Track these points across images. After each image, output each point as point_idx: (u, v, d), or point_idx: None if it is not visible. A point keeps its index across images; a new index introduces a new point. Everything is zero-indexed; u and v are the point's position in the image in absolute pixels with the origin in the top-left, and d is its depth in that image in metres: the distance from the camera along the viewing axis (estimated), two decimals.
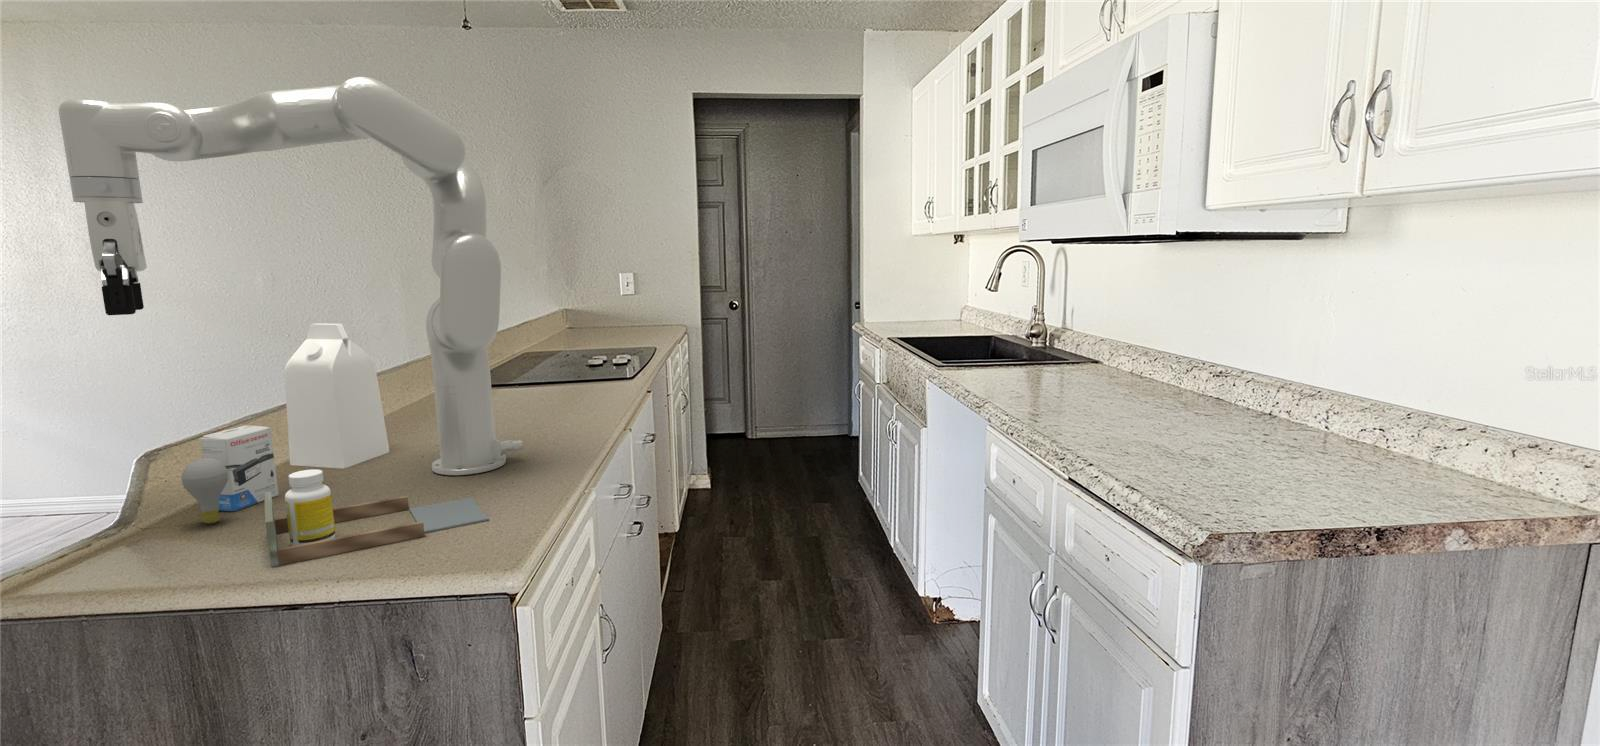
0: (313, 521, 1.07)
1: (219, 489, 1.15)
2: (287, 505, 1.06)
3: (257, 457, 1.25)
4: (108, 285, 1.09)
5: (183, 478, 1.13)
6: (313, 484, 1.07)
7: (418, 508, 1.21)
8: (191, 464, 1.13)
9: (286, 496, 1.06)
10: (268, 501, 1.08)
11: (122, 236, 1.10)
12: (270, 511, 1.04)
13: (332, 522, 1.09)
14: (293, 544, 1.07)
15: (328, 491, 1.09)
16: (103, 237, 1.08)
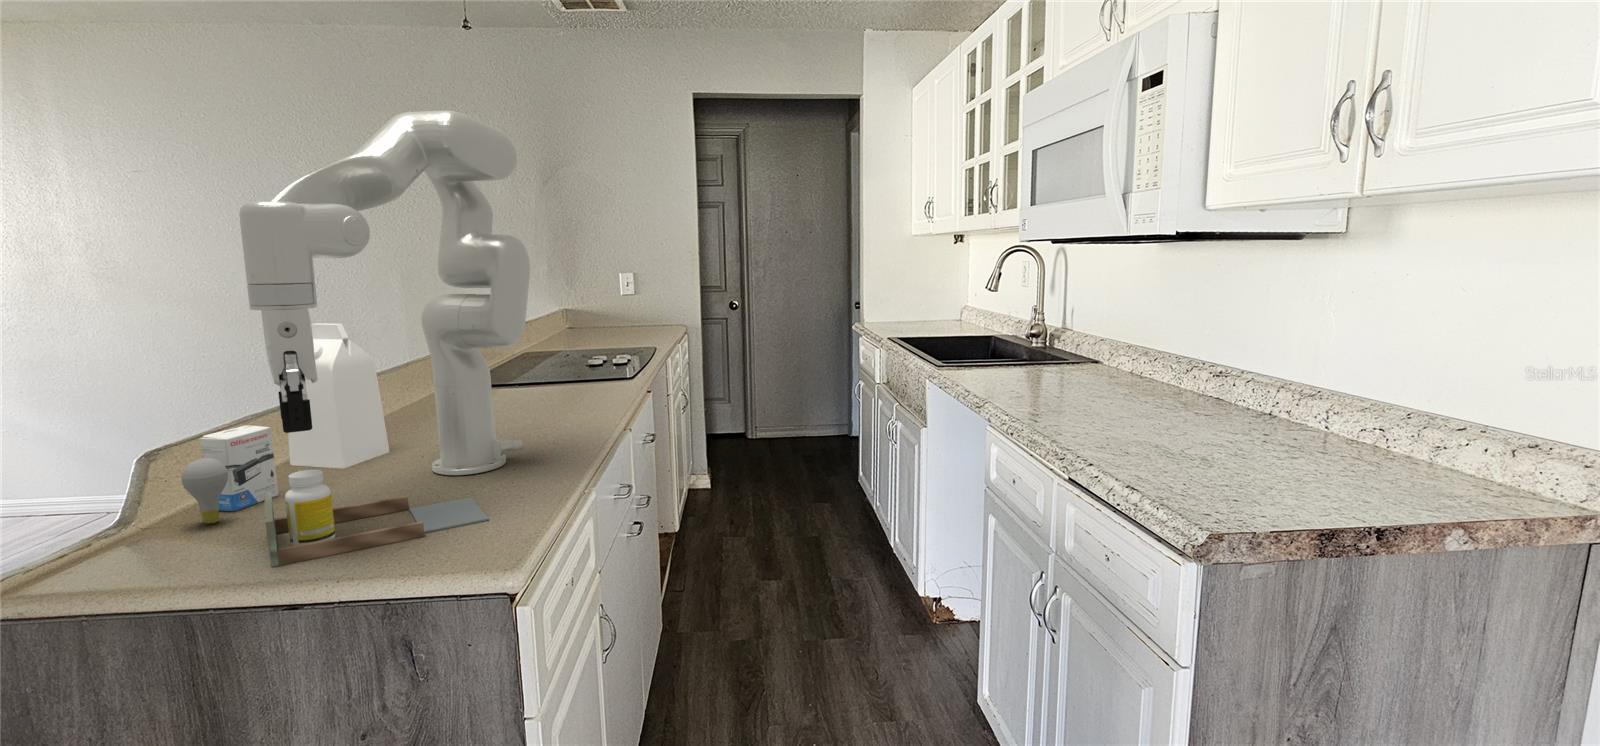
0: (313, 521, 1.07)
1: (219, 489, 1.15)
2: (287, 505, 1.06)
3: (257, 457, 1.25)
4: (288, 401, 1.00)
5: (183, 478, 1.13)
6: (313, 484, 1.07)
7: (418, 508, 1.21)
8: (191, 464, 1.13)
9: (286, 496, 1.06)
10: (268, 501, 1.08)
11: (302, 347, 1.01)
12: (270, 511, 1.04)
13: (332, 522, 1.09)
14: (293, 544, 1.07)
15: (328, 491, 1.09)
16: (284, 349, 1.00)
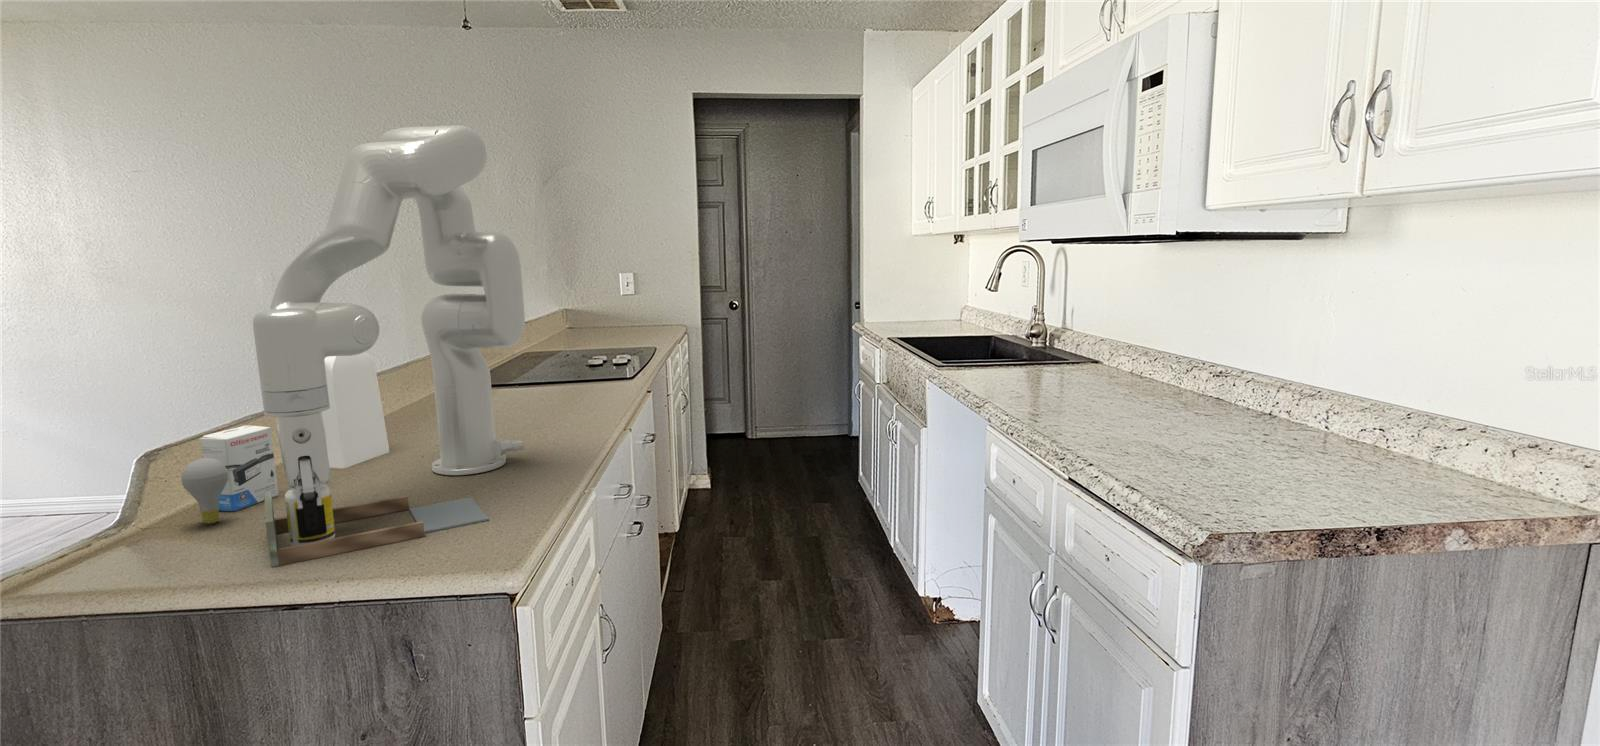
0: None
1: (219, 489, 1.15)
2: (287, 505, 1.06)
3: (257, 457, 1.25)
4: (303, 509, 1.04)
5: (183, 478, 1.13)
6: None
7: (418, 508, 1.21)
8: (191, 464, 1.13)
9: (286, 496, 1.06)
10: (268, 501, 1.08)
11: (316, 451, 1.04)
12: (270, 511, 1.04)
13: (332, 522, 1.09)
14: (293, 544, 1.07)
15: (328, 491, 1.09)
16: (298, 455, 1.03)
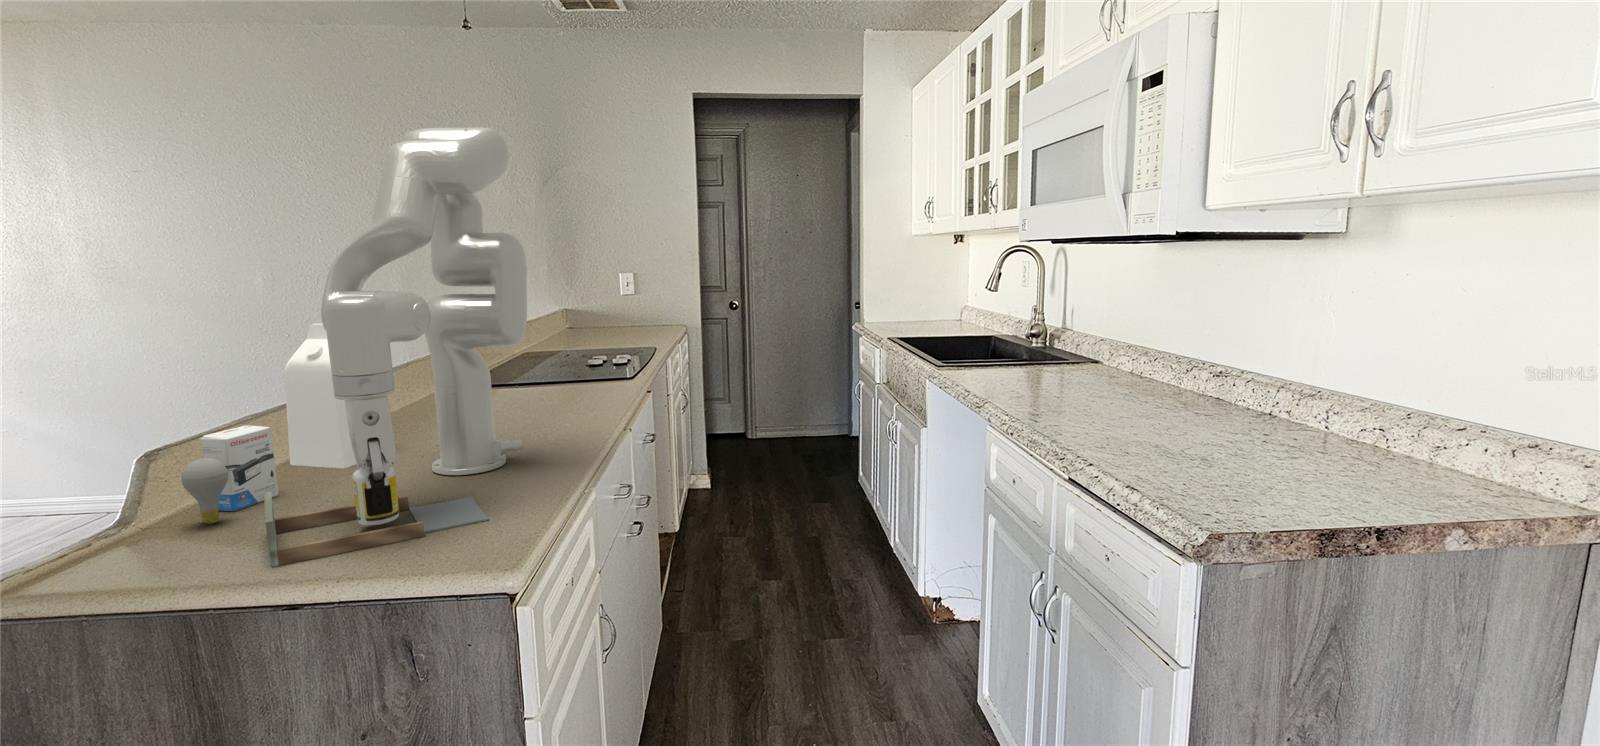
0: None
1: (219, 489, 1.15)
2: (355, 485, 1.11)
3: (257, 457, 1.25)
4: (371, 488, 1.09)
5: (183, 478, 1.13)
6: None
7: (418, 508, 1.21)
8: (191, 464, 1.13)
9: (354, 476, 1.11)
10: (268, 501, 1.08)
11: (384, 433, 1.08)
12: (270, 511, 1.04)
13: (396, 501, 1.14)
14: (361, 522, 1.11)
15: (393, 472, 1.13)
16: (367, 436, 1.07)
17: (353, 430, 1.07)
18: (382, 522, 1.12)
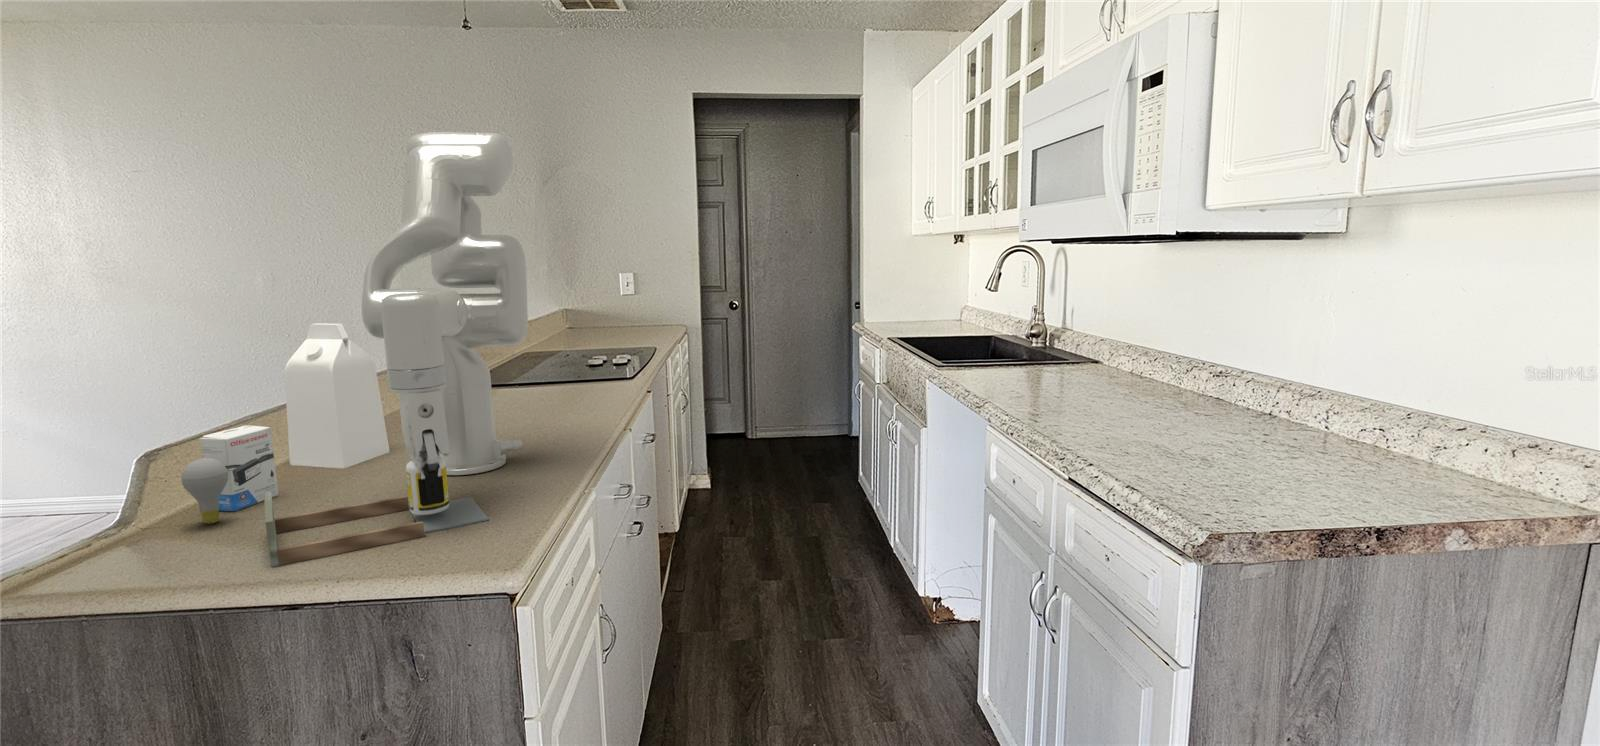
0: None
1: (219, 489, 1.15)
2: (408, 475, 1.14)
3: (257, 457, 1.25)
4: (425, 479, 1.13)
5: (183, 478, 1.13)
6: None
7: None
8: (191, 464, 1.13)
9: (408, 467, 1.14)
10: (268, 501, 1.08)
11: (438, 425, 1.12)
12: (270, 511, 1.04)
13: (447, 492, 1.18)
14: (413, 512, 1.15)
15: (444, 463, 1.17)
16: (422, 428, 1.11)
17: (409, 422, 1.11)
18: (434, 512, 1.15)
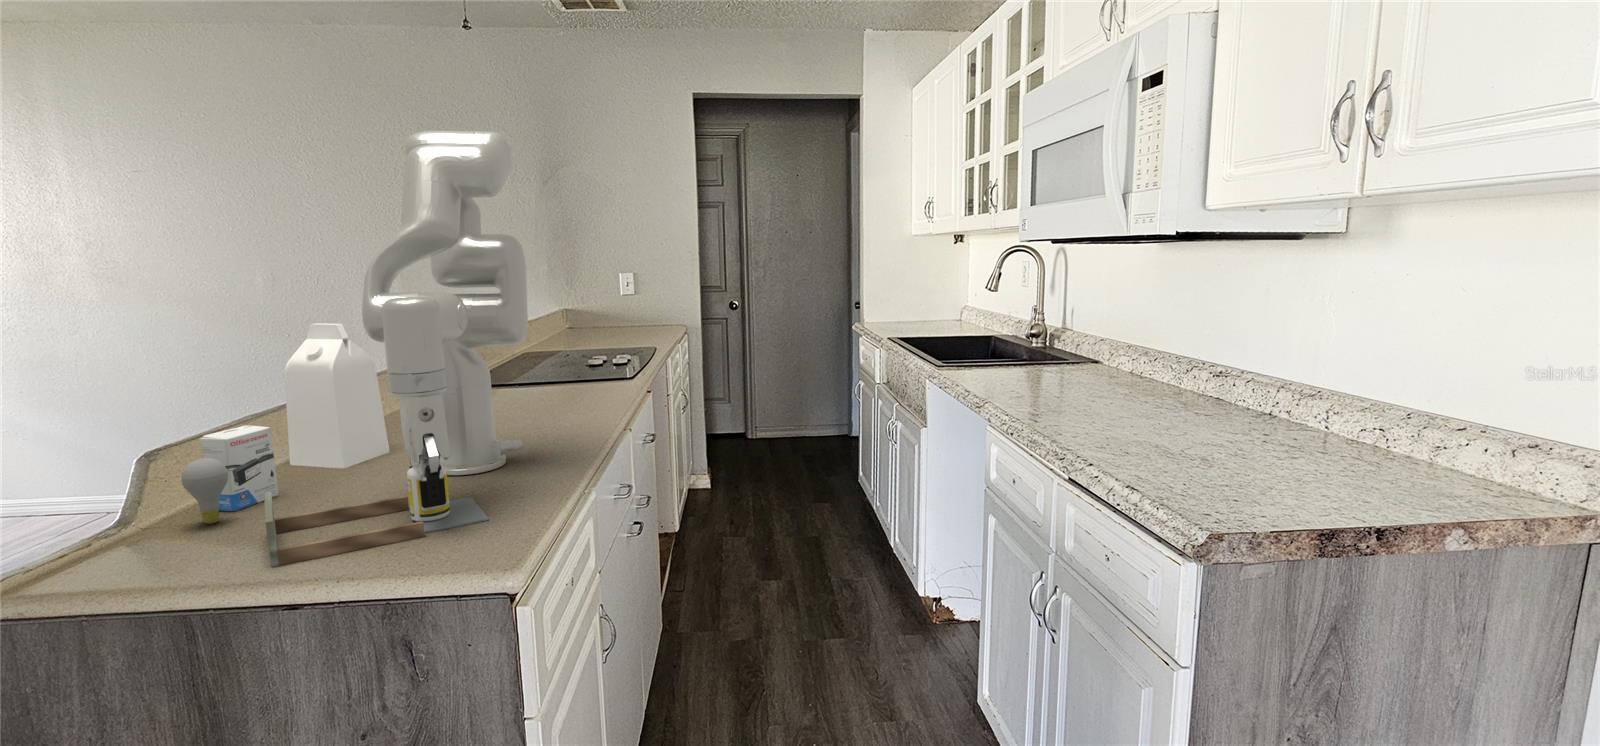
0: None
1: (219, 489, 1.15)
2: (409, 482, 1.15)
3: (257, 457, 1.25)
4: (427, 480, 1.11)
5: (183, 478, 1.13)
6: None
7: None
8: (191, 464, 1.13)
9: (409, 474, 1.15)
10: (268, 501, 1.08)
11: (438, 429, 1.12)
12: (270, 511, 1.04)
13: (448, 498, 1.18)
14: (414, 518, 1.15)
15: (445, 469, 1.17)
16: (423, 432, 1.11)
17: (409, 426, 1.11)
18: (435, 518, 1.16)
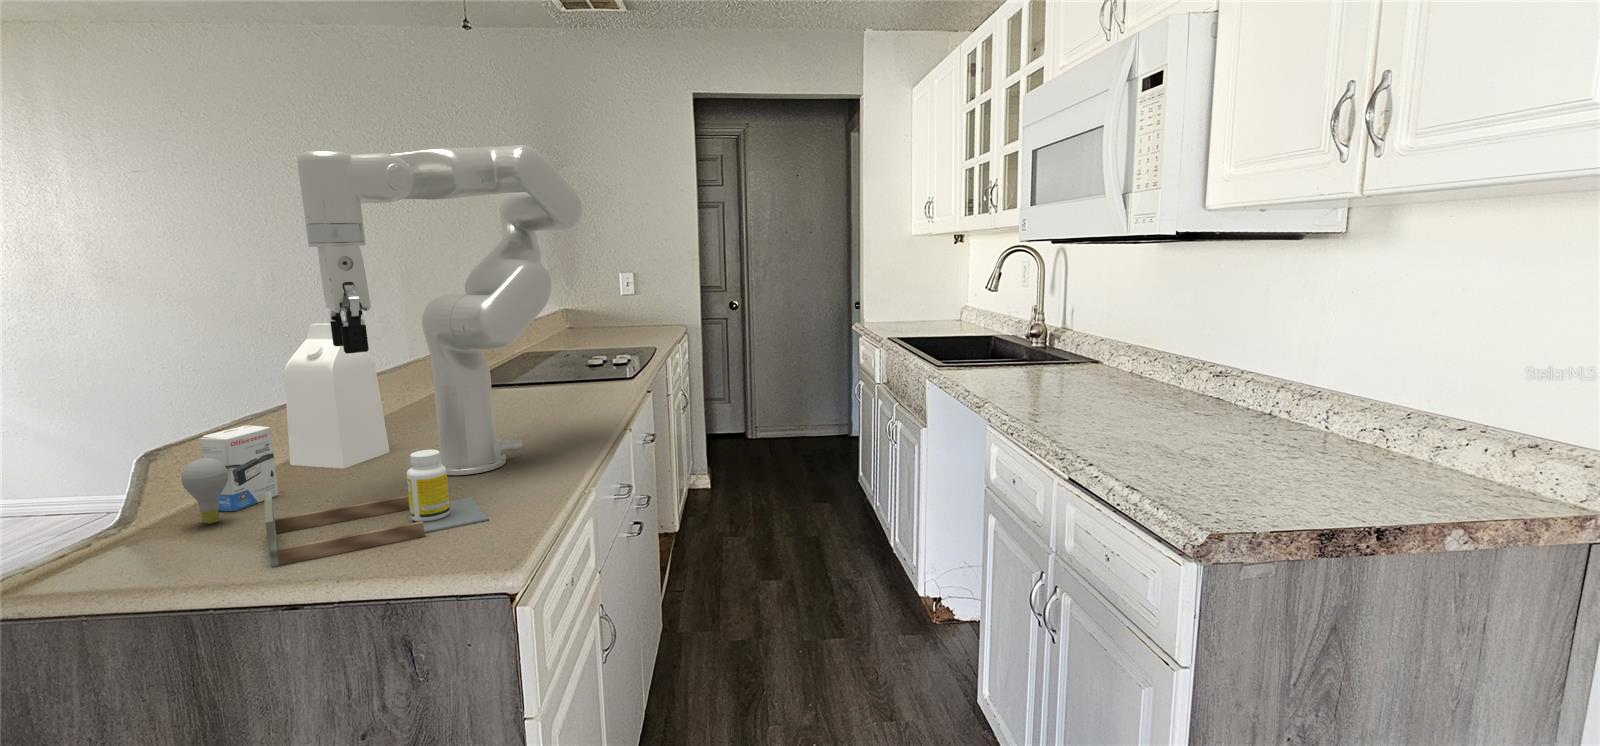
0: (433, 497, 1.15)
1: (219, 489, 1.15)
2: (409, 482, 1.15)
3: (257, 457, 1.25)
4: (348, 325, 1.16)
5: (183, 478, 1.13)
6: (433, 462, 1.15)
7: None
8: (191, 464, 1.13)
9: (409, 474, 1.15)
10: (268, 501, 1.08)
11: (358, 279, 1.16)
12: (270, 511, 1.04)
13: (448, 498, 1.18)
14: (414, 518, 1.15)
15: (445, 469, 1.17)
16: (343, 280, 1.15)
17: (329, 274, 1.15)
18: (435, 518, 1.16)
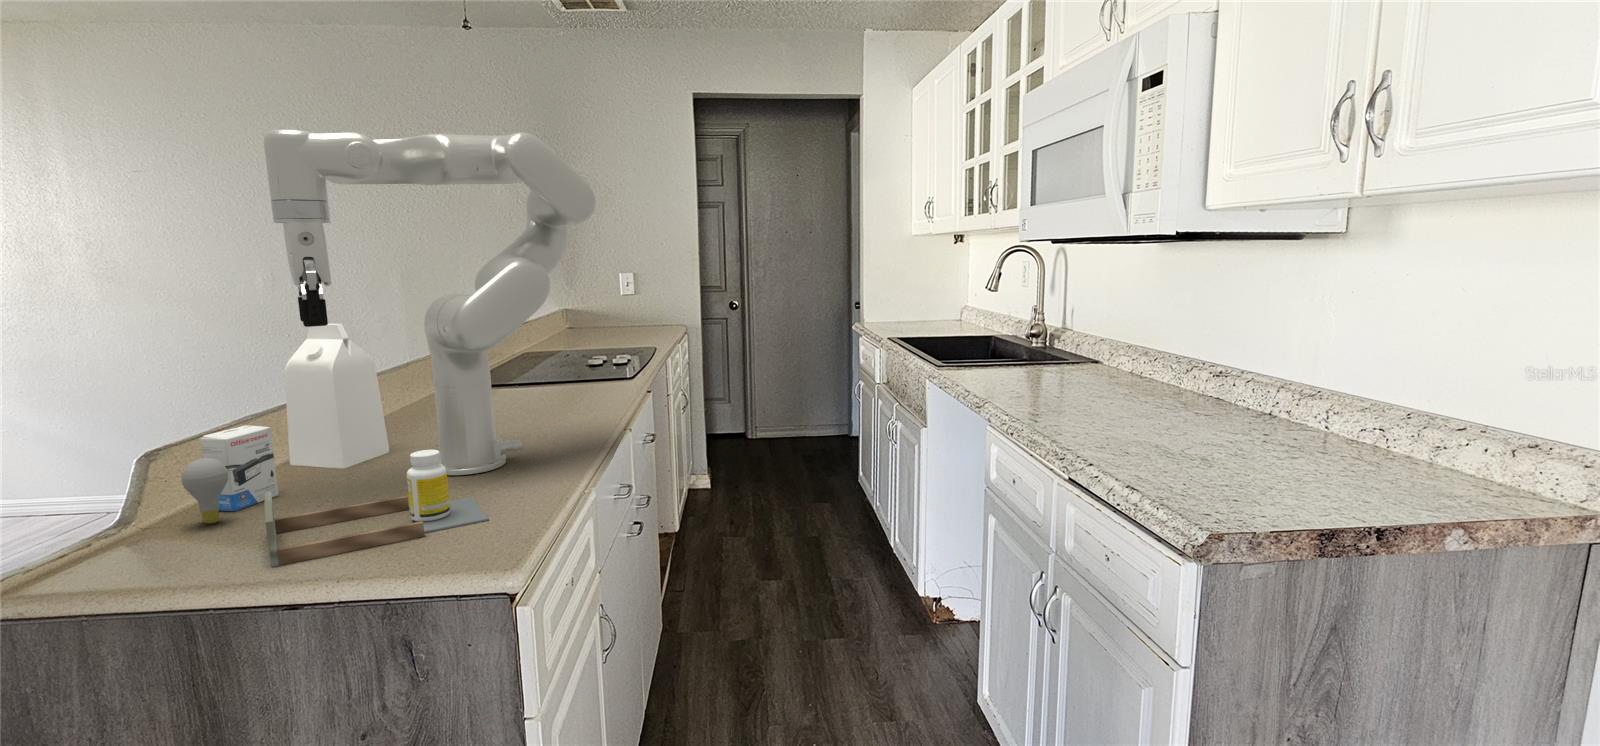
0: (433, 497, 1.15)
1: (219, 489, 1.15)
2: (409, 482, 1.15)
3: (257, 457, 1.25)
4: (307, 299, 1.19)
5: (183, 478, 1.13)
6: (433, 462, 1.15)
7: None
8: (191, 464, 1.13)
9: (409, 474, 1.15)
10: (268, 501, 1.08)
11: (318, 254, 1.20)
12: (270, 511, 1.04)
13: (448, 498, 1.18)
14: (414, 518, 1.15)
15: (445, 469, 1.17)
16: (303, 255, 1.18)
17: (290, 249, 1.18)
18: (435, 518, 1.16)
